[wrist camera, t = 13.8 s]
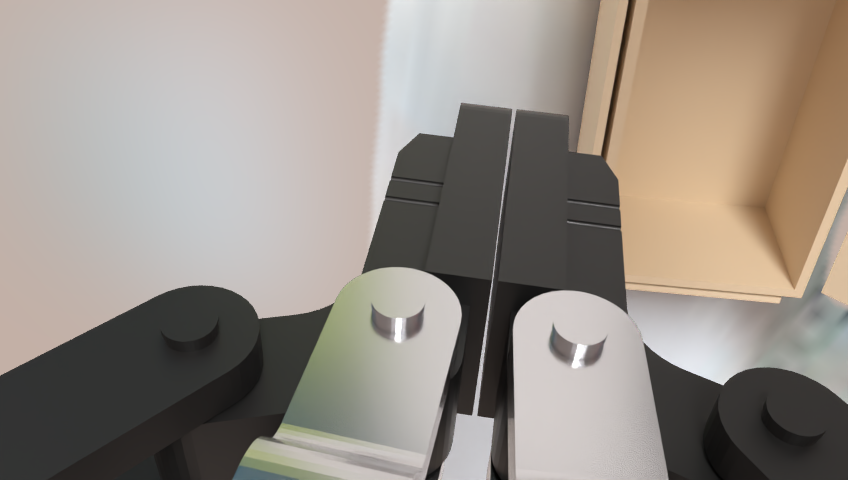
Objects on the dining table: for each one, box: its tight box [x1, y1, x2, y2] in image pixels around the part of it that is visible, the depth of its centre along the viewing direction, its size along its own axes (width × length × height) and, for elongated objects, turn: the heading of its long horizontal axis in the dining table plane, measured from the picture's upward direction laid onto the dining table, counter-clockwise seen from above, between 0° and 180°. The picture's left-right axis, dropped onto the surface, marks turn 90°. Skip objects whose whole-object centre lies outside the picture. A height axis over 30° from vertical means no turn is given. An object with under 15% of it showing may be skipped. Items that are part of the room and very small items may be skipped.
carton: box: [577, 0, 848, 303], centre depth 39 cm, size 23×12×8 cm, turn 179°
